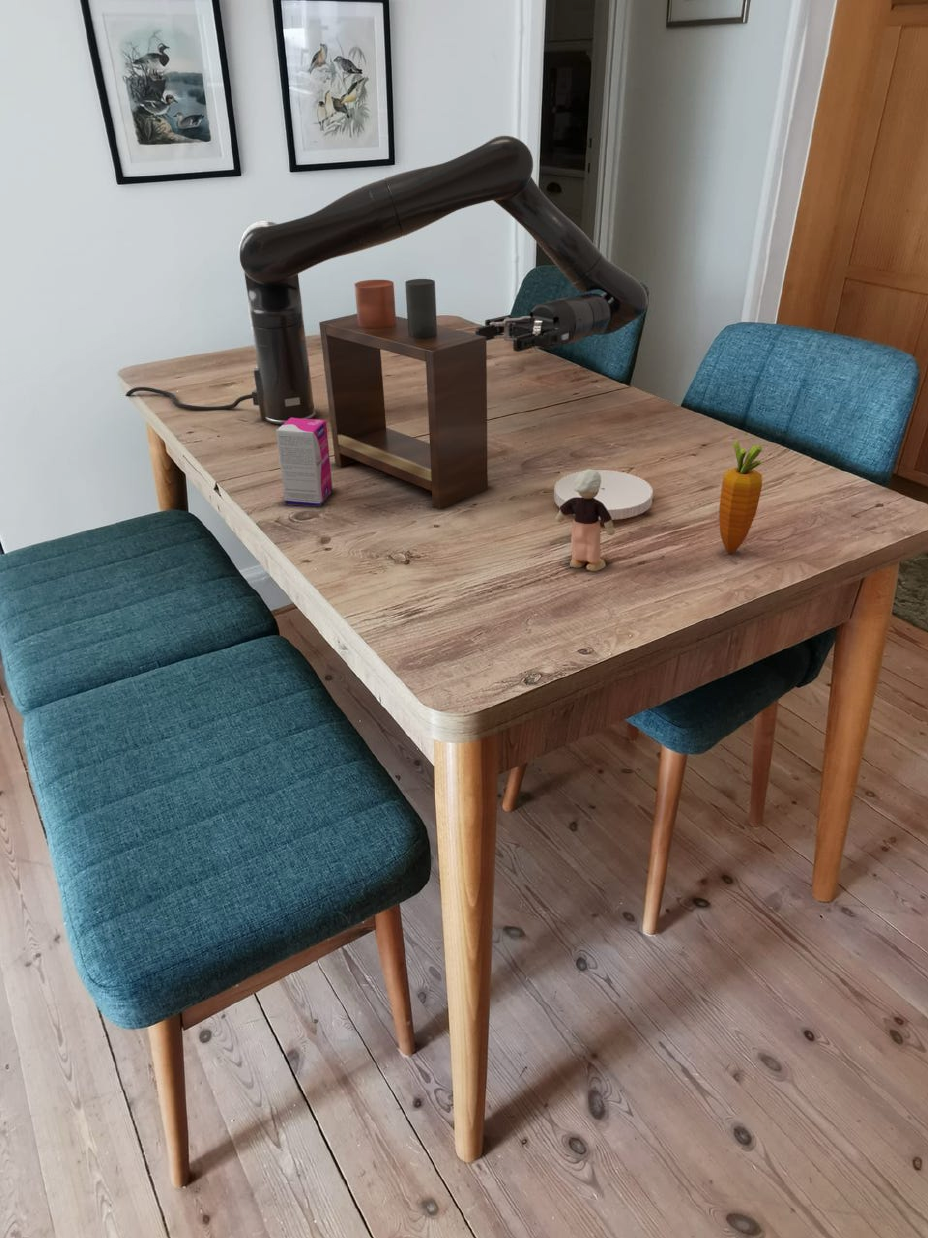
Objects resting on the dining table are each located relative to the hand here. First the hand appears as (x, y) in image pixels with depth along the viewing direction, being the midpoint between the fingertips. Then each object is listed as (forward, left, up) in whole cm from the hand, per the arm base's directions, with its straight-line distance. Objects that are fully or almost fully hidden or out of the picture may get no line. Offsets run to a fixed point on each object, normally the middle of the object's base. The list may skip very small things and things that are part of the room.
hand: (495, 340), depth 133 cm
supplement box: (-22, -28, -17) cm, 40 cm away
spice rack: (-10, -17, -17) cm, 26 cm away
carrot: (+39, -32, -17) cm, 53 cm away
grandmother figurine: (+21, -39, -17) cm, 48 cm away
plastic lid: (+21, -21, -17) cm, 35 cm away
